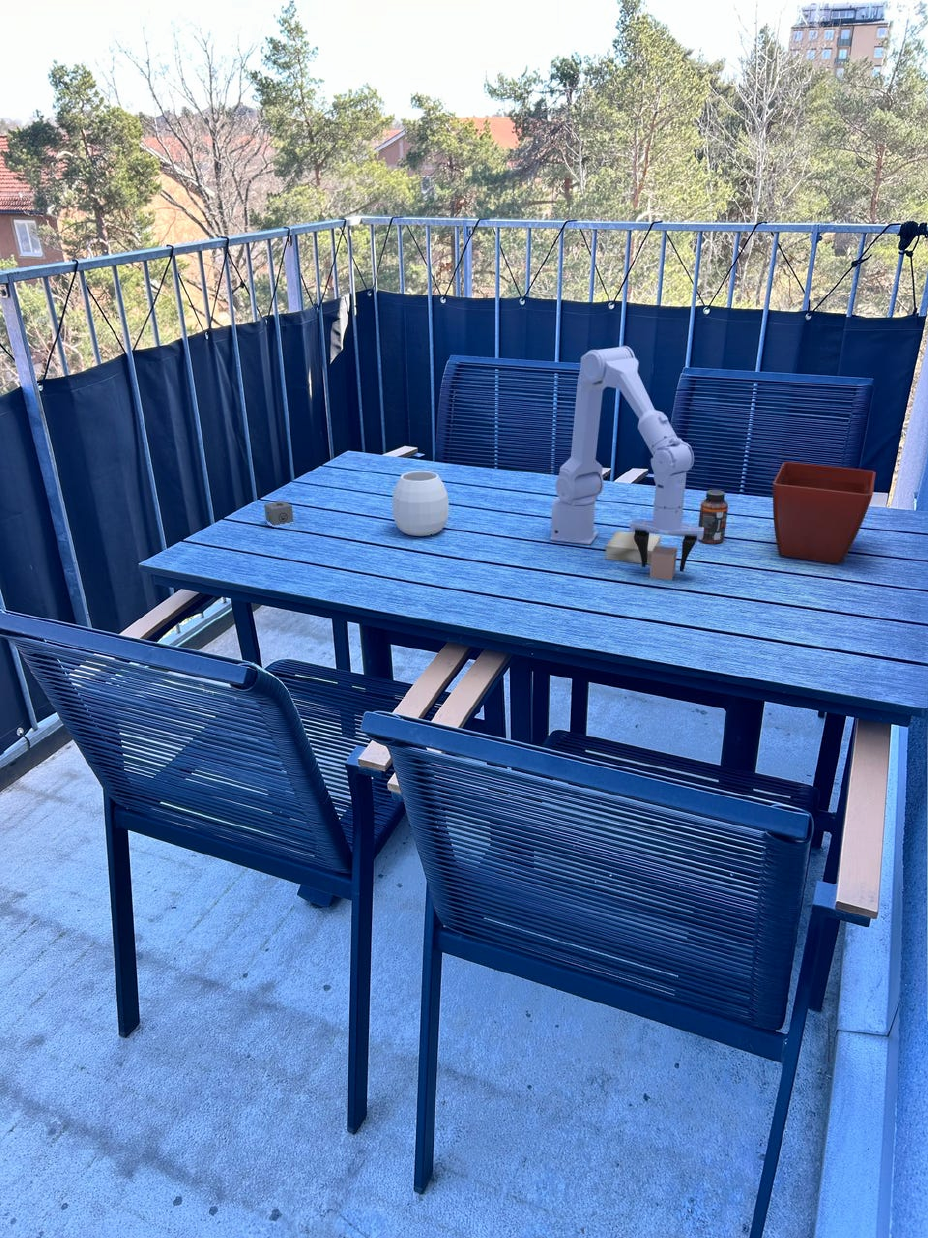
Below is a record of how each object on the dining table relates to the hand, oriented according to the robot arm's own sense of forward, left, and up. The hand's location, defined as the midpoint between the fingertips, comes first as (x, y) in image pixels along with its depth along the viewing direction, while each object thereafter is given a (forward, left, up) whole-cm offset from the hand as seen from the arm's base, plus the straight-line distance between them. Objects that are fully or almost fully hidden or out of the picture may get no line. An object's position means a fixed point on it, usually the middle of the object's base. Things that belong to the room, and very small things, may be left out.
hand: (663, 567), depth 183 cm
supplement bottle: (+7, +24, -2) cm, 25 cm away
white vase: (-58, +9, -2) cm, 59 cm away
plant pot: (+29, +24, -2) cm, 38 cm away
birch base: (-8, +10, -2) cm, 13 cm away
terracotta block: (0, 0, -2) cm, 2 cm away
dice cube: (-93, +3, -2) cm, 93 cm away
